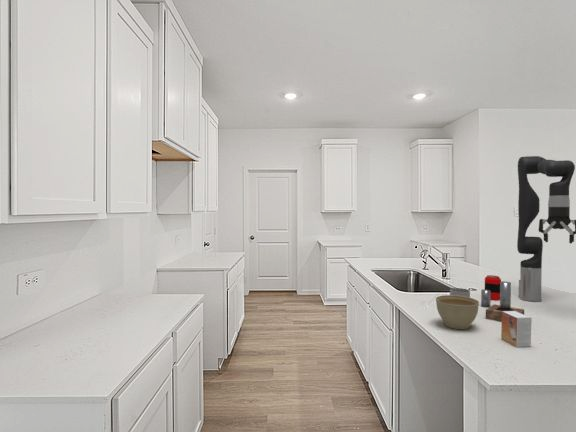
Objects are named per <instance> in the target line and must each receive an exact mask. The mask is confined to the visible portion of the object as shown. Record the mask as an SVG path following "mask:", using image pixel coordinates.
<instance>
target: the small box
mask: <svg viewBox="0 0 576 432" xmlns="http://www.w3.org/2000/svg"><path fill="white" fill-rule="evenodd" d="M500 335H501V337H500V338H501V339H502V340H503V341H505V342H507V343H509V344H510V345H512V346H514V347H515V348H523V347H524V348H527V347H531V346H532V317H531V316H528V315H525V314H524V315H523V314H521V313H519V312H517V311H502V322H501V333H500Z"/></svg>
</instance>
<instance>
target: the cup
mask: <svg viewBox="0 0 576 432" xmlns="http://www.w3.org/2000/svg"><path fill="white" fill-rule="evenodd" d="M449 295H457V296H465V297H470V298H471V290H470V289H466V288H460V287H452V288H450V289H449Z"/></svg>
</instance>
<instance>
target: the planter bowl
mask: <svg viewBox="0 0 576 432" xmlns="http://www.w3.org/2000/svg"><path fill="white" fill-rule="evenodd" d="M435 302H436V309H437V313H438V315H439V317H441V320H442V321H443V323H444V326H446V327H447V328H451V329H454V330H455V329H456V330H468V329H469V328H470V327H471V325H472V323H473V322H474V321H475V319H476V317H477V315H478V312H479V305H480V301H479V300H477V299H475V298H473V297H471V296H470V297H465V296H457V295H450V294H446V295H445V294H443V295H439V296H436V297H435Z"/></svg>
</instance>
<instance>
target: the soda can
mask: <svg viewBox="0 0 576 432" xmlns="http://www.w3.org/2000/svg"><path fill="white" fill-rule="evenodd" d="M500 282H502V279H501V277H500V276H498V275H494V274H493V275H492V274H490V275H486V276H485V277H484V289H486V290H490V291H491V301H500Z"/></svg>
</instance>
